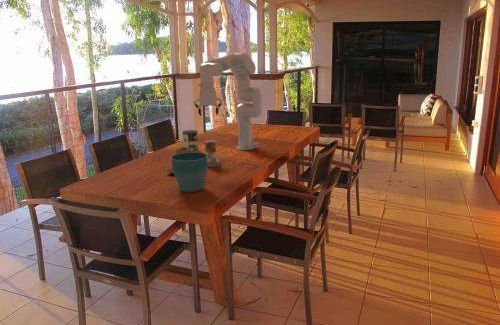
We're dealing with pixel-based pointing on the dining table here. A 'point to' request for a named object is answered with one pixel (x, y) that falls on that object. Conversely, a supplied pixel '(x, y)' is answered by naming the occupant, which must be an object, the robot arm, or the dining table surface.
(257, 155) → the dining table surface
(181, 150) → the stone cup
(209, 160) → the oak cube
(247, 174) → the dining table surface
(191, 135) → the coffee can
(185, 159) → the flower pot
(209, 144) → the walnut cube
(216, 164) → the slate trivet
